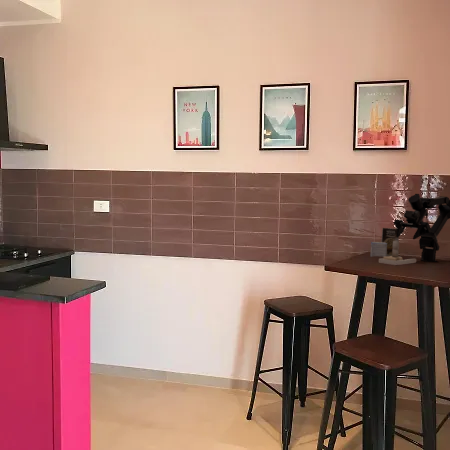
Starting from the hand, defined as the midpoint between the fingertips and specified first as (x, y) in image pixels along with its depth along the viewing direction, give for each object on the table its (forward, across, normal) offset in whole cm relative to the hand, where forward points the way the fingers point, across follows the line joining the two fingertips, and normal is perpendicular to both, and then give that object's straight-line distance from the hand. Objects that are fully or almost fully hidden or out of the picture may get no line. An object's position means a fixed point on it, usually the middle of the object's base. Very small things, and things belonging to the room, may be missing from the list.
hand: (405, 237), depth 270 cm
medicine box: (+4, -20, +15) cm, 26 cm away
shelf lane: (+14, 0, +6) cm, 15 cm away
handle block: (+16, 0, +2) cm, 16 cm away
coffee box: (-4, -21, +24) cm, 32 cm away
